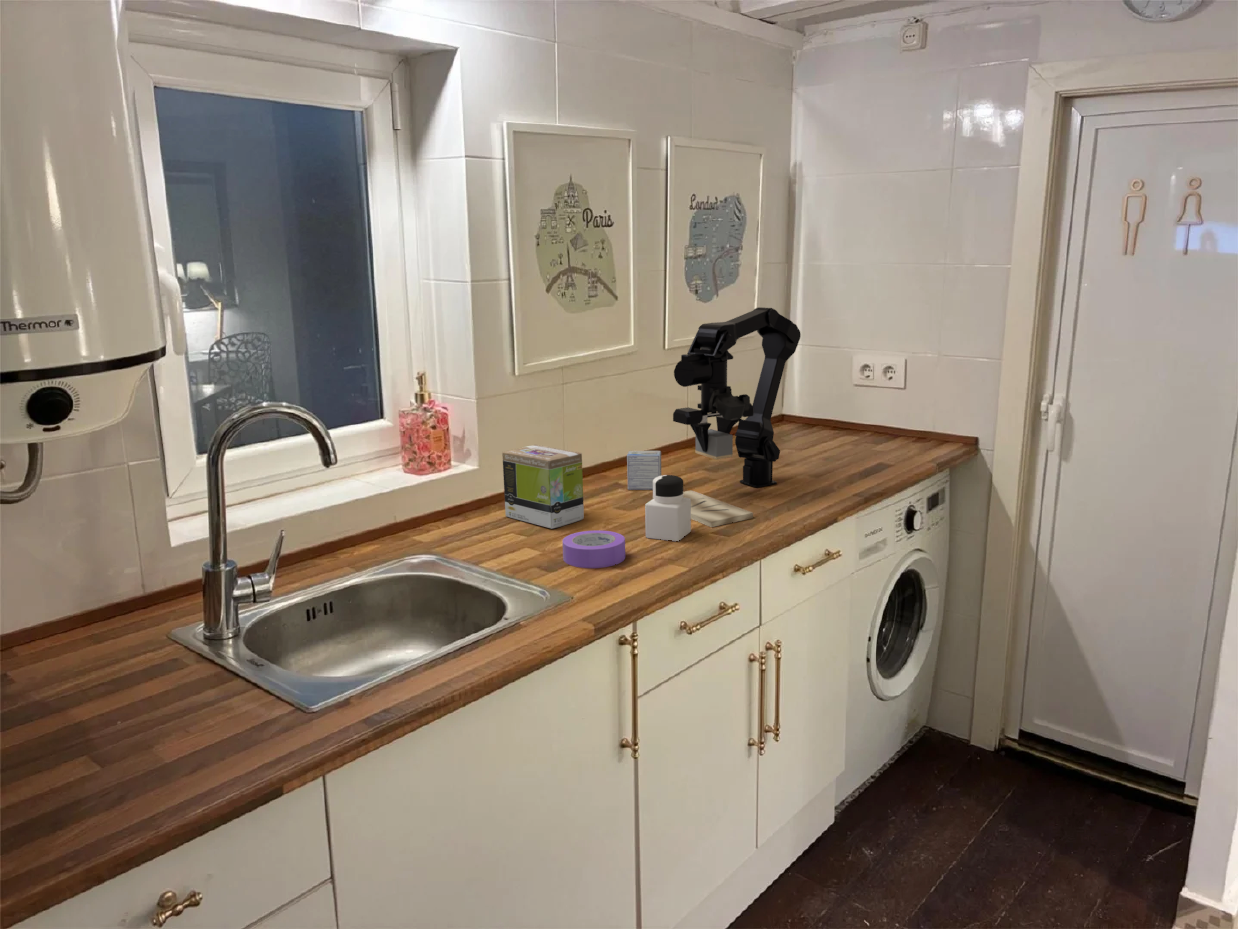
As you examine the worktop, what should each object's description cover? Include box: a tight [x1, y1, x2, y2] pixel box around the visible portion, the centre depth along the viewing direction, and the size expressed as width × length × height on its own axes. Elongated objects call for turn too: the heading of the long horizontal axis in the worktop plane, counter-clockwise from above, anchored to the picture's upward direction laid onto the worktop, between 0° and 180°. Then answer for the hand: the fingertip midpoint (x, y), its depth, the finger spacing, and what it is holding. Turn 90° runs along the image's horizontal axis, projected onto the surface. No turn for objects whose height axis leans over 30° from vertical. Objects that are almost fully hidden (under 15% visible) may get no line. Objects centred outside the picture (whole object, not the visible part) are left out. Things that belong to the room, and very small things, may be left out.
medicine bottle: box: [644, 474, 692, 542], centre depth 187 cm, size 7×7×12 cm
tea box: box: [501, 444, 585, 529], centre depth 200 cm, size 15×10×15 cm
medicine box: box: [626, 450, 662, 491], centre depth 223 cm, size 8×4×9 cm, turn 84°
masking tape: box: [562, 530, 626, 569], centre depth 176 cm, size 12×12×4 cm
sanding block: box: [695, 428, 734, 460], centre depth 211 cm, size 4×8×5 cm, turn 31°
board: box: [651, 490, 754, 528], centre depth 205 cm, size 11×22×1 cm, turn 32°
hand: (713, 450), depth 211 cm, fingers closed on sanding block, 4 cm apart
